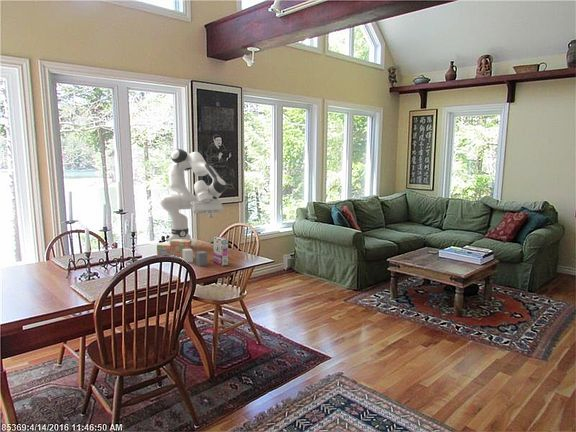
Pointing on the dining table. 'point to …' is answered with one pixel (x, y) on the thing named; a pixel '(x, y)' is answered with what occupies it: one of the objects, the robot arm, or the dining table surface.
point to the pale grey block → (187, 255)
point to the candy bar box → (221, 251)
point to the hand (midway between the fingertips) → (210, 217)
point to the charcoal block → (201, 258)
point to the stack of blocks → (174, 247)
